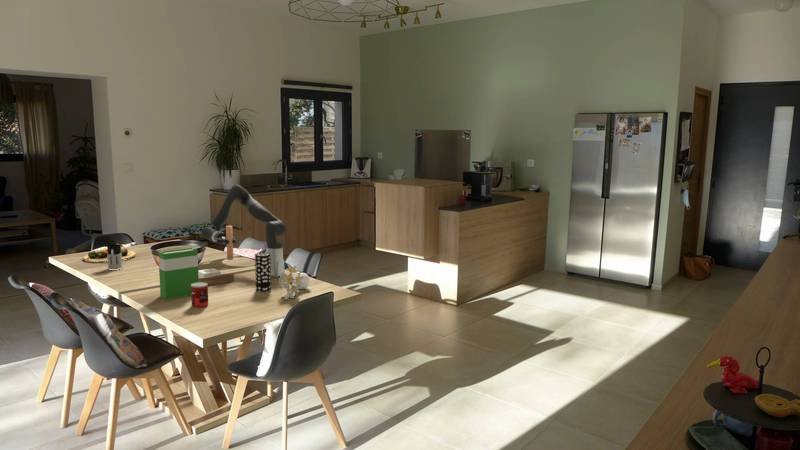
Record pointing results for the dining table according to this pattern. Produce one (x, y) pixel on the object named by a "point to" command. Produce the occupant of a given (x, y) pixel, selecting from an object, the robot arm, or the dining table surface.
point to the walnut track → (217, 279)
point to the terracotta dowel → (229, 246)
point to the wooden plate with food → (103, 256)
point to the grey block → (208, 272)
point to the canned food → (199, 294)
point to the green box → (177, 272)
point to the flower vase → (294, 281)
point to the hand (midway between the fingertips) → (231, 241)
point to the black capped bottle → (114, 256)
